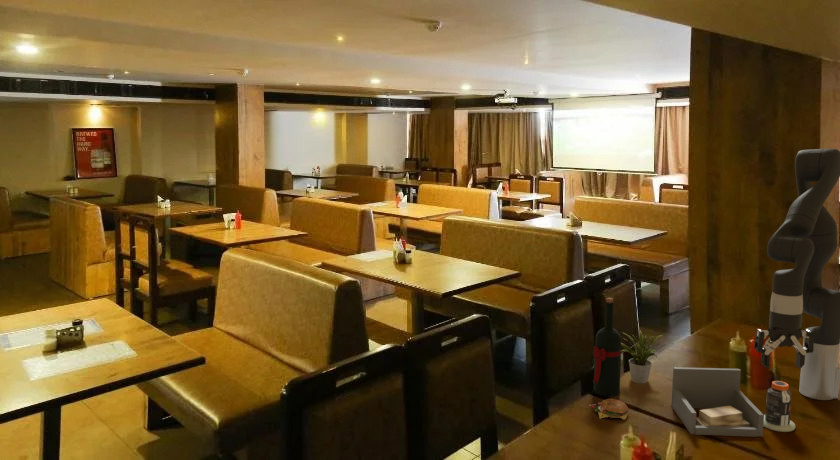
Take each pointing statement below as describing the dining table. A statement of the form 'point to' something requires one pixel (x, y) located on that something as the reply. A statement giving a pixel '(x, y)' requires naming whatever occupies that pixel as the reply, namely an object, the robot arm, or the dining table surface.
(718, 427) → the frame
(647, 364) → the house plant
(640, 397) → the dining table surface
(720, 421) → the offcut upper
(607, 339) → the wine bottle
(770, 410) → the pill bottle
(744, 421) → the offcut lower
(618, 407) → the hamburger
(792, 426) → the coaster
